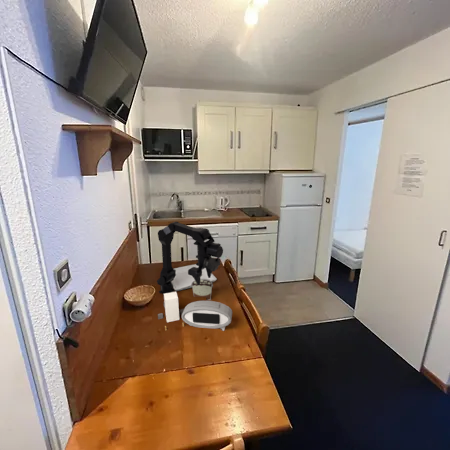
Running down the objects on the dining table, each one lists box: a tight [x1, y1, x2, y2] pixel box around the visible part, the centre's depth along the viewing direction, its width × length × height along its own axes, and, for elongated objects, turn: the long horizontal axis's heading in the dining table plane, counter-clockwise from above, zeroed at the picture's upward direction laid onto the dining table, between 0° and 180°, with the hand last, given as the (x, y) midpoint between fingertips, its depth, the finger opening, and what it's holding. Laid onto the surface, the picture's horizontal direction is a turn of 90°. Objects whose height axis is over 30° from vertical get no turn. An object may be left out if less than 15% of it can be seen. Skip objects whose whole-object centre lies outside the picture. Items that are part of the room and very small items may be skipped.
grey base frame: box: [157, 301, 185, 331], centre depth 125 cm, size 26×13×3 cm, turn 19°
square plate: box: [171, 263, 218, 292], centre depth 164 cm, size 27×27×4 cm
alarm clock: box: [181, 300, 233, 332], centre depth 118 cm, size 23×6×13 cm, turn 83°
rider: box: [163, 291, 180, 323], centre depth 122 cm, size 6×6×13 cm
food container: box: [191, 279, 214, 301], centre depth 143 cm, size 12×6×10 cm, turn 84°
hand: (204, 281), depth 131 cm, fingers open, 9 cm apart
